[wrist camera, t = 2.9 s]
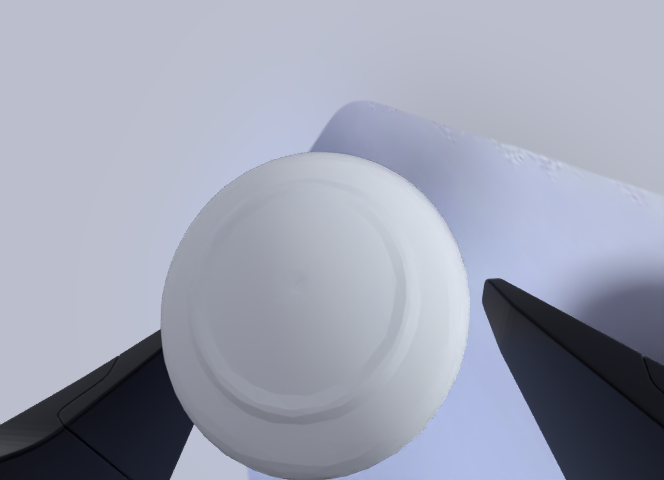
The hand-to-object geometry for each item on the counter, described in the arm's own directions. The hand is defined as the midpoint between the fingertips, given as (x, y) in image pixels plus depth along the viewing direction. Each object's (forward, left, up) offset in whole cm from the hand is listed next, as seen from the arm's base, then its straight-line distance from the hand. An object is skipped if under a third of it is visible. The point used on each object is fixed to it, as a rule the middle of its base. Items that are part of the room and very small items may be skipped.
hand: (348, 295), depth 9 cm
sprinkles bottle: (0, 0, -8) cm, 8 cm away
